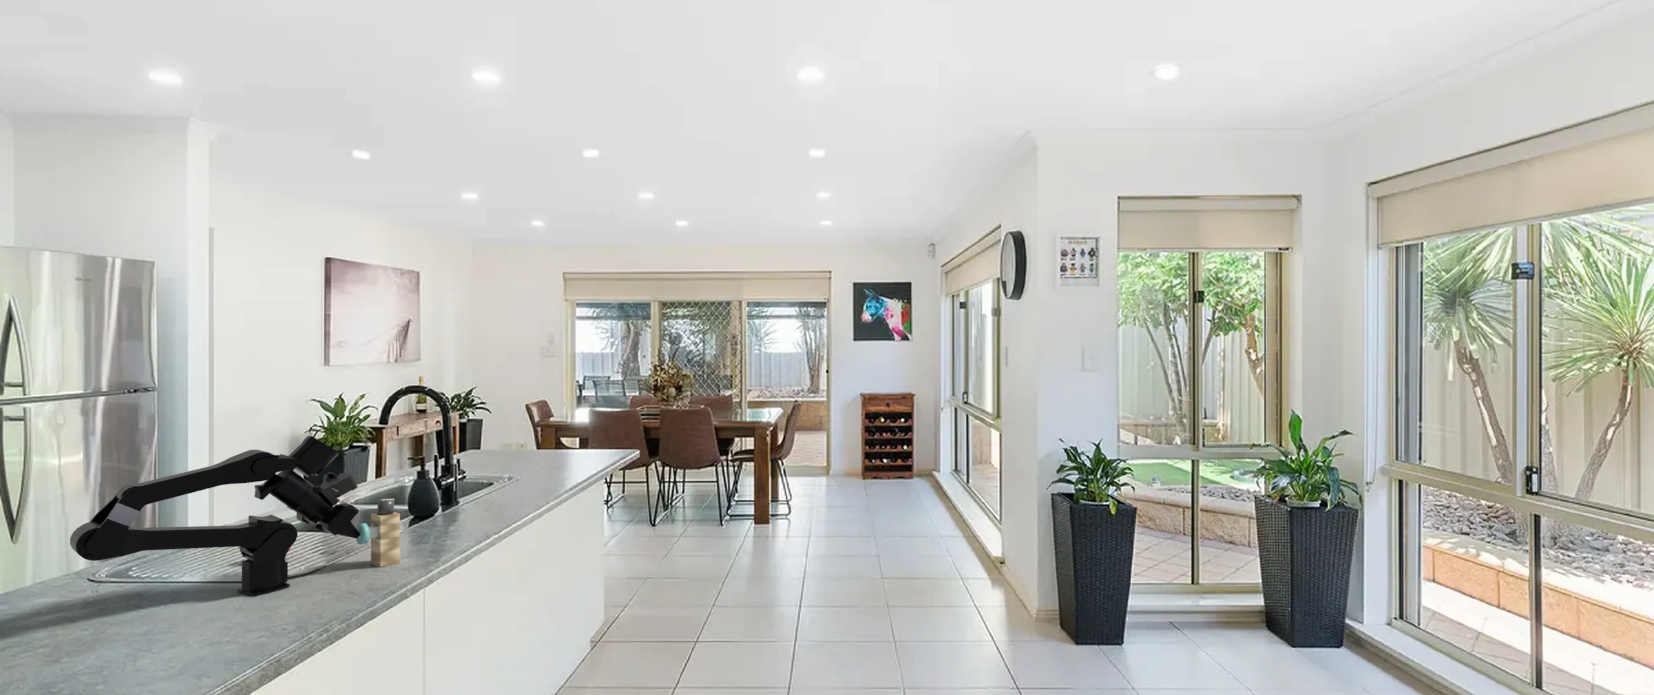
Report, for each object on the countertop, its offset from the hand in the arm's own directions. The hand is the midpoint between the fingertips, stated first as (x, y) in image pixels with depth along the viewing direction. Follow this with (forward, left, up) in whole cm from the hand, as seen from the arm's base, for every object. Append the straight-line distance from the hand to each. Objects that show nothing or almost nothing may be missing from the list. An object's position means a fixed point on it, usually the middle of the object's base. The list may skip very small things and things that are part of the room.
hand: (358, 536), depth 162 cm
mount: (+5, -1, -7) cm, 9 cm away
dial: (+5, -1, +4) cm, 7 cm away
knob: (+3, -1, -2) cm, 4 cm away
